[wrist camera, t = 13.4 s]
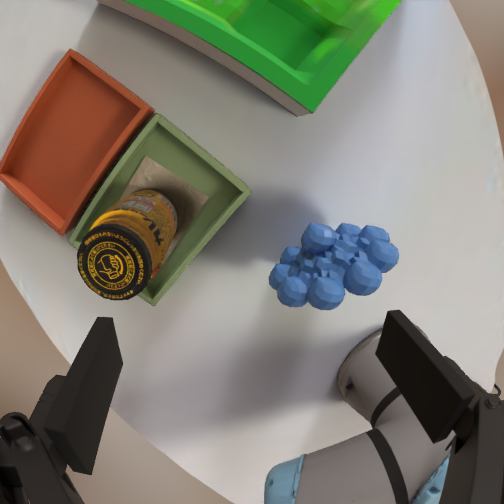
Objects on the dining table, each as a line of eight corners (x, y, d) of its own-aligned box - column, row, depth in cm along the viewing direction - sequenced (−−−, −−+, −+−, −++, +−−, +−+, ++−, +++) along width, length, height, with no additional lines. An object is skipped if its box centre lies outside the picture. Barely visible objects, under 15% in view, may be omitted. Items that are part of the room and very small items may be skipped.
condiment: (104, 227, 29) (52, 277, 18) (146, 155, 27) (102, 167, 16) (163, 264, 31) (139, 332, 20) (209, 196, 29) (204, 234, 18)
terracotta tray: (155, 110, 26) (149, 107, 24) (71, 229, 29) (62, 236, 27) (79, 53, 22) (69, 48, 20) (7, 171, 25) (-6, 174, 23)
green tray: (249, 187, 30) (252, 191, 27) (157, 295, 33) (153, 307, 30) (161, 114, 26) (156, 112, 24) (77, 233, 29) (67, 241, 27)
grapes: (342, 180, 30) (406, 206, 19) (364, 234, 33) (426, 279, 22) (243, 235, 31) (260, 291, 20) (274, 286, 34) (301, 355, 23)
